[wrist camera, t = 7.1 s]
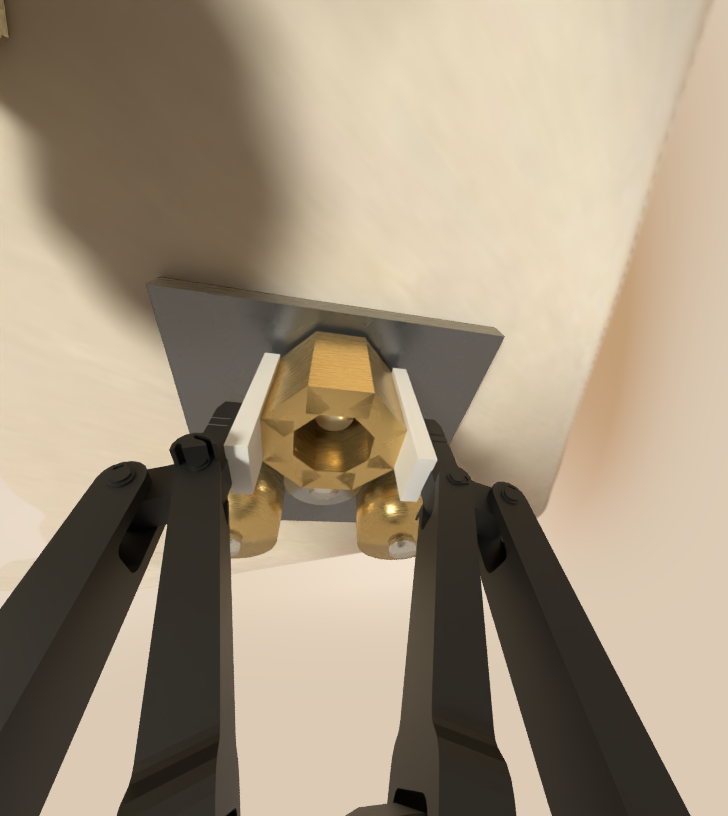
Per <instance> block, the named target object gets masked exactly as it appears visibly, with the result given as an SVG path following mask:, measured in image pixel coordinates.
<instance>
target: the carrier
mask: <svg viewBox="0 0 728 816" xmlns="http://www.w3.org/2000/svg"><path fill="white" fill-rule="evenodd" d="M146 286H147V289H148V293H149V296H150V300H151V303H152V306H153V310H154V313H155V317H156V320H157V323H158V327H159V330H160V334H161V337H162V341H163V344H164V347H165V351H166V354H167V358H168V361H169V364H170V368H171V371H172V375H173V378H174V381H175V385H176V388H177V392H178V395H179V398H180V402H181V405H182V409H183V412H184V416H185V419H186V422H187V426H188V429H189V433H190V434H191V433H203V432H204V430H205V428H206V427H207V425H208V423H209V421H210V419H211V418H212V416H213V414H214V412H215V410H216V408H217V407H219V406H220V405H221V404H223V403H224V402H225V401H229V402H240V403H243V401H244V399H245V396H246V394H247V392H248V390H249V387H250V385H251V383H252V381H253V378H254V376H255V374H256V372H257V369H258V367H259V365H260V363H261V360H262V358H263V356H264V354H265V353H273V354H280V360H281V358H282V357H283V356H284V355H286V354H287V353H288V352H290V351H291V350H292V349H294V348H295V347H296V346H298V345H299V344H300V343H302V342H303V341H304V340H306V339H307V338H308V337H310V336H311V335H312V334H314V333H315V332H316V331H320V332H328V333H335V334H342V335H350V336H357V337H365V338H366V339H367V340H368V342H369V343H370V344H371V346H372V347H373V348H374V350H375V351H376V352H377V353H378V355H379V356H380V357H381V359H382V360H383V361H384V363H385V364H386V365H387V367H388V368H389V369H390V371H391V373H392V369H393V368H399V369H406V371H407V373H408V376H409V379H410V382H411V385H412V388H413V391H414V394H415V396H416V399H417V402H418V405H419V408H420V411H421V414H422V417H423V419H433V420H435V421H436V422H437V423H438V424H439V425H440V426H441V427H442V430H443V432H444V434H445V437H446V439H447V443H448V444H450V442H451V440H452V438H453V436H454V434H455V432H456V430H457V428H458V426H459V424H460V422H461V420H462V418H463V417H464V415H465V413H466V411H467V409H468V407H469V405H470V403H471V401H472V399H473V397H474V395H475V393H476V391H477V389H478V387H479V385H480V383H481V381H482V380H483V378H484V376H485V374H486V372H487V370H488V368H489V366H490V364H491V362H492V360H493V358H494V356H495V354H496V352H497V350H498V348H499V346H500V345H501V343H502V341H503V339H504V337H505V336H504V335H502V334H501V333H500V332H499V331H498V330H497V329H496V328H494V327H487V326H481V325H474V324H467V323H461V322H454V321H447V320H441V319H434V318H428V317H421V316H414V315H408V314H401V313H394V312H388V311H381V310H374V309H368V308H361V307H355V306H348V305H341V304H335V303H328V302H321V301H315V300H308V299H301V298H295V297H288V296H282V295H275V294H268V293H262V292H255V291H248V290H242V289H235V288H228V287H222V286H215V285H209V284H202V283H195V282H189V281H182V280H175V279H169V278H162V277H158V278H157V279H155V280H153V281H151V282H149V283H147V284H146ZM315 420H316V422H317V423H318V425H319V426H321V427H322V428H324V429H326V430H330V431H339V430H343V429H345V428H347V427H348V426H349V425H350V424H351V423H352V421H353V418H350V417H338V416H327V415H319V416H317V417H316V418H315ZM228 501H229V523H230V558H247V557H253V556H257V555H260V554H263V553H265V552H267V551H269V550H270V549H272V548H273V547H274V545H275V544H276V542H277V537H278V531H279V525H280V520H296V521H330V522H357V543H358V547H359V549H360V550H361V551H362V552H363V553H365V554H366V555H368V556H371V557H374V558H378V559H387V560H397V559H407V558H411V557H416V547H417V537H418V526H419V518H418V520H415V518H416V515H417V513H418V511H419V510H420V508H421V506H422V504H423V500H422V496H421V494H420V496H419V498H418V500H417V502H413V501H400V498H399V492H398V487H397V482H396V476H395V471H394V469H393V470H391V471H389V472H387V473H385V474H383V475H381V476H379V477H377V478H375V479H373V480H371V481H369V482H367V483H365V484H363V485H361V486H359V487H357V488H355V489H353V490H342V489H322V488H302V487H300V486H299V485H297V484H296V483H294V482H293V481H291V480H290V479H288V478H287V477H285V476H284V475H282V474H281V473H280V472H278V471H277V470H275V469H274V468H272V467H271V466H269V465H268V464H266V463H265V462H263V461H262V465H261V468H260V472H259V475H258V479H257V483H256V486H255V490H254V493H253V495H251V494H233V492H232V486H231V489H230V491H229V494H228Z"/></svg>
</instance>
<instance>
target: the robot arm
mask: <svg viewBox="0 0 728 816" xmlns="http://www.w3.org/2000/svg"><path fill="white" fill-rule="evenodd" d="M279 363H280V354H273V353H265V354H264V356H263V358H262V360H261V363H260V365H259V367H258V369H257V372H256V374H255V376H254V378H253V381H252V383H251V385H250V387H249V390H248V392H247V394H246V396H245V399H244V401H243V403H240V402H229V401H225V402H224V403H223V404H221V405H220V406H219V407H217V408H216V410H215V412H214V414H213V416H212V418H211V419H210V421H209V423H208V425H207V427H206V428H205V430H204V432H203V433H191V434H187V435H184V436H182V437H180V438H178V439H177V440H176V441H175V442H174V443H173V444H172V445H171V447H170V449H169V450H170V453H171V456H172V458H173V461H174V464H173V465H169V466H164V467H159V468H153V469H147V468H146V466H145V465H143V464H142V463H140V462H134V461H129V462H122V463H119V464H116V465H113V466H111V467H109V468H107V469H106V470H104V471H103V472H102V473H101V474H100V475H99V476H98V477H97V478H96V479H95V480H94V482H93V483H92V484H91V486H90V487H89V489H88V490H87V491H86V493H85V494H84V495H83V497H82V498H81V499H80V501H79V502H78V504H77V505H76V506H75V508H74V509H73V510H72V512H71V513H70V514H69V516H68V517H67V519H66V520H65V521H64V523H63V524H62V525H61V527H60V528H59V529H58V531H57V532H56V534H55V535H54V536H53V538H52V539H51V540H50V542H49V543H48V545H47V546H46V547H45V549H44V550H43V551H42V553H41V554H40V556H39V557H38V558H37V560H36V561H35V562H34V564H33V565H32V566H31V568H30V569H29V570H28V572H27V573H26V575H25V576H24V577H23V579H22V580H21V581H20V583H19V584H18V585H17V587H16V588H15V590H14V591H13V592H12V594H11V595H10V596H9V598H8V599H7V600H6V602H5V603H4V605H3V606H2V607H1V609H0V816H39V815H40V813H41V810H42V808H43V806H44V803H45V801H46V799H47V797H48V794H49V792H50V789H51V787H52V785H53V783H54V780H55V778H56V776H57V774H58V771H59V769H60V766H61V764H62V762H63V760H64V757H65V755H66V753H67V750H68V748H69V746H70V744H71V741H72V739H73V737H74V734H75V732H76V730H77V727H78V725H79V723H80V721H81V718H82V716H83V714H84V711H85V709H86V707H87V704H88V702H89V700H90V697H91V695H92V693H93V691H94V688H95V686H96V684H97V681H98V679H99V677H100V674H101V672H102V670H103V668H104V665H105V663H106V661H107V658H108V656H109V654H110V652H111V649H112V647H113V644H114V642H115V640H116V638H117V635H118V633H119V631H120V628H121V626H122V624H123V622H124V619H125V617H126V615H127V612H128V610H129V608H130V605H131V603H132V601H133V599H134V596H135V594H136V592H137V589H138V587H139V585H140V582H141V580H142V578H143V576H144V573H145V571H146V569H147V566H148V564H149V562H150V559H151V557H152V555H153V552H154V550H155V548H156V546H157V543H158V541H159V539H160V536H161V534H162V532H163V529H164V527H165V525H166V524H167V531H166V538H165V546H164V553H163V560H162V567H161V574H160V581H159V588H158V595H157V603H156V610H155V617H154V624H153V631H152V638H151V645H150V652H149V660H148V667H147V674H146V681H145V688H144V695H143V702H142V709H141V717H140V725H139V731H138V739H137V745H136V753H135V760H134V766H133V771H132V777H131V780H130V783H129V787H128V789H127V791H126V793H125V796H124V798H123V800H122V802H121V804H120V807H119V810H118V813H117V816H240V792H239V791H240V789H239V769H238V757H237V749H236V736H235V700H234V665H233V629H232V596H231V595H232V594H231V558H230V523H229V501H228V494H229V491H230V489H231V486H232V492H233V494H251V495H253V493H254V490H255V486H256V483H257V479H258V475H259V472H260V468H261V465H262V461H263V453H262V439H261V424H260V417H261V414H262V412H263V409H264V406H265V403H266V400H267V397H268V394H269V391H270V389H271V386H272V383H273V380H274V377H275V374H276V371H277V369H278V366H279ZM391 374H392V378H393V381H394V385H395V389H396V392H397V396H398V400H399V403H400V407H401V410H402V414H403V418H404V421H405V425H406V429H407V433H406V435H405V438H404V441H403V444H402V447H401V449H400V452H399V455H398V458H397V461H396V464H395V466H394V471H395V476H396V482H397V487H398V492H399V498H400V501H413V502H417V500H418V498H419V496H420V494H421V496H422V500H423V504H422V506H421V508H420V510H419V511H418V513H417V515H416V518H415V520H418V518H419V526H418V537H417V547H416V558H415V569H414V580H413V591H412V603H411V612H410V624H409V635H408V644H407V656H406V666H405V677H404V688H403V698H402V709H401V720H400V727H399V733H398V736H397V739H396V742H395V746H394V751H393V756H392V763H391V772H390V782H389V792H388V802H387V804H382V805H374V806H367V807H359V808H357V809H355V810H354V811H353V812H351V813H349V814H347V815H346V816H516V808H515V800H514V793H513V787H512V781H511V777H510V774H509V770H508V767H507V764H506V762H505V760H504V758H503V756H502V754H501V753H500V751H499V749H498V747H497V744H496V741H495V734H494V727H493V715H492V705H491V692H490V681H489V669H488V658H487V646H486V635H485V623H484V613H483V600H482V589H481V580H482V583H483V586H484V590H485V593H486V596H487V600H488V603H489V606H490V610H491V613H492V617H493V620H494V623H495V627H496V630H497V633H498V637H499V640H500V643H501V647H502V650H503V653H504V657H505V660H506V663H507V667H508V670H509V674H510V677H511V680H512V684H513V687H514V691H515V694H516V697H517V701H518V704H519V707H520V711H521V714H522V717H523V721H524V724H525V727H526V731H527V734H528V738H529V741H530V744H531V748H532V751H533V754H534V758H535V761H536V765H537V768H538V771H539V775H540V778H541V781H542V785H543V788H544V791H545V795H546V798H547V802H548V805H549V808H550V811H551V814H552V816H690V814H689V812H688V810H687V808H686V806H685V804H684V802H683V800H682V798H681V797H680V795H679V793H678V791H677V789H676V787H675V785H674V783H673V781H672V779H671V777H670V775H669V773H668V771H667V769H666V768H665V766H664V764H663V762H662V760H661V758H660V756H659V754H658V752H657V750H656V748H655V747H654V745H653V742H652V741H651V739H650V737H649V735H648V733H647V731H646V729H645V727H644V725H643V723H642V721H641V720H640V717H639V716H638V714H637V712H636V710H635V708H634V706H633V704H632V702H631V700H630V698H629V696H628V695H627V692H626V691H625V688H624V687H623V685H622V683H621V681H620V679H619V677H618V675H617V673H616V671H615V669H614V667H613V665H612V664H611V661H610V660H609V658H608V656H607V654H606V652H605V650H604V648H603V646H602V644H601V642H600V640H599V638H598V636H597V634H596V633H595V631H594V629H593V627H592V625H591V623H590V621H589V619H588V617H587V615H586V613H585V611H584V609H583V607H582V606H581V604H580V602H579V600H578V598H577V596H576V594H575V592H574V590H573V588H572V586H571V584H570V582H569V581H568V579H567V577H566V575H565V573H564V571H563V569H562V567H561V565H560V563H559V561H558V559H557V557H556V555H555V553H554V552H553V550H552V548H551V546H550V544H549V542H548V540H547V538H546V536H545V534H544V532H543V530H542V528H541V526H540V525H539V523H538V521H537V519H536V517H535V515H534V513H533V511H532V509H531V507H530V505H529V503H528V501H527V499H526V498H525V496H524V495H523V493H522V492H521V491H520V490H519V489H518V488H516V487H515V486H513V485H511V484H509V483H506V482H497V483H496V484H494V485H493V486H492V488H491V487H488V486H485V485H482V484H479V483H476V482H474V481H472V480H471V478H470V476H469V475H468V474H467V473H466V472H465V471H464V470H463V469H461V468H459V467H458V466H457V464H456V461H455V459H454V456H453V454H452V451H451V449H450V447H449V444H448V443H447V439H446V437H445V434H444V432H443V430H442V427H441V426H440V425H439V424H438V423H437V422H436V421H435V420H433V419H423V417H422V414H421V411H420V408H419V405H418V402H417V399H416V396H415V394H414V391H413V388H412V385H411V382H410V379H409V376H408V373H407V371H406V369H399V368H393V369H392V373H391ZM480 576H481V577H480Z"/></svg>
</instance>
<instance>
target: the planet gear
mask: <svg viewBox="0 0 728 816" xmlns="http://www.w3.org/2000/svg"><path fill="white" fill-rule="evenodd" d="M319 415H327V416H338V417H350V418H353V421H352V423H351V424H350V425H349V426H348V427H347V428H345V429H343V430H339V431H330V430H326V429H324V428H322V427H321V426H319V425H318V423H317V422H316V420H315V418H316V417H317V416H319ZM260 424H261V439H262V453H263V462H265V463H266V464H268V465H269V466H271V467H272V468H274V469H275V470H277V471H278V472H280V473H281V474H282V475H284V476H285V477H287V478H288V479H290V480H291V481H293V482H294V483H296V484H297V485H299V486H300V487H302V488H322V489H342V490H353V489H355V488H357V487H359V486H361V485H363V484H365V483H367V482H369V481H371V480H373V479H375V478H377V477H379V476H381V475H383V474H385V473H387V472H389V471H391V470H393V469H394V466H395V464H396V461H397V458H398V455H399V452H400V449H401V447H402V444H403V441H404V438H405V435H406V433H407V429H406V425H405V421H404V418H403V414H402V410H401V407H400V403H399V400H398V396H397V392H396V389H395V385H394V381H393V378H392V374H391V371H390V369H389V368H388V367H387V365H386V364H385V363H384V361H383V360H382V359H381V357H380V356H379V355H378V353H377V352H376V351H375V350H374V348H373V347H372V346H371V344H370V343H369V342H368V340H367V339H366V338H365V337H357V336H350V335H342V334H335V333H328V332H320V331H316V332H315V333H314V334H312V335H311V336H310V337H308V338H307V339H306V340H304V341H303V342H302V343H300V344H299V345H298V346H296V347H295V348H294V349H292V350H291V351H290V352H288V353H287V354H286V355H284V356H283V357H282V358H281V360H280V363H279V366H278V369H277V371H276V374H275V377H274V380H273V383H272V386H271V389H270V391H269V394H268V397H267V400H266V403H265V406H264V409H263V412H262V414H261V417H260Z"/></svg>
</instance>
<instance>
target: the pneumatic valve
mask: <svg viewBox="0 0 728 816" xmlns="http://www.w3.org/2000/svg"><path fill="white" fill-rule="evenodd" d="M1 35H2V36H5V37H7V38H9V36H8V28H7V21H6V14H5V7H4V0H0V38H2V37H1Z"/></svg>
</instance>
